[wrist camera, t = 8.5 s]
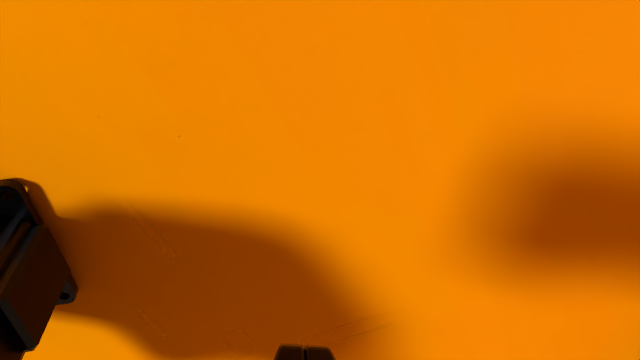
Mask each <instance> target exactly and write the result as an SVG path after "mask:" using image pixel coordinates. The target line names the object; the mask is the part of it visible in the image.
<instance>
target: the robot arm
mask: <svg viewBox="0 0 640 360" xmlns="http://www.w3.org/2000/svg"><path fill="white" fill-rule="evenodd" d="M6 191H9V192H11V193H13V194H14V195H10V194H8V193H7V192H6ZM65 292H66V293H65ZM77 293H78V287H77V285H76V283H75V282H74V280H73V278H72V276H71V274H70V269H69V267H68V265H67V263H66V261H65V259H64V257H63V256H62V254H61V252H60V250H59V248H58V246H57V244H56V242H55V240H54V239H53V237H52V235H51V233H50V231H49V229H48V228H47V227H46V226H45V225H44V224H43V222H42V220H41V218H40V216H39V214H38V212H37V210H36V209H35V207H34V205H33V203H32V201H31V199H30V197H29V195H28V194H27V192H26V190H25V188H24V187H23V186H22V184H20V183H19V182H17V181H14V180H0V360H22V358H23V356H24V354H25V352H28V351H34V349H35V348H36V347H37V345H38V344H39V342H40V339H41V337H42V335H43V333H44V330H45V328H46V326H47V324H48V321H49V319H50V317H51V314H52V312H53V310H54V308H55V305H60V304H67V303H71V302H73V301H74V300H75V298H76V296H77ZM274 360H336V359H335V357H334V356H333V354H332V352H331V350H330V349H329V348H328V347H326V346H315V345H307V346H305V347H304V348H303V346H302V345H297V344H281V345H280V346H279V348H278V350H277V353H276V355H275V358H274Z"/></svg>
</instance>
